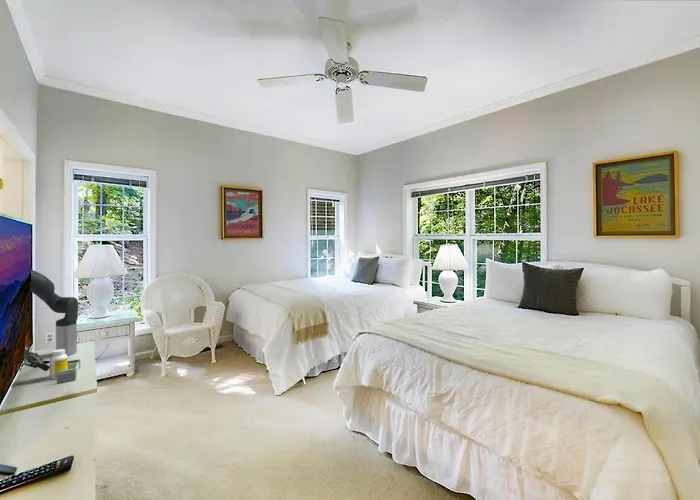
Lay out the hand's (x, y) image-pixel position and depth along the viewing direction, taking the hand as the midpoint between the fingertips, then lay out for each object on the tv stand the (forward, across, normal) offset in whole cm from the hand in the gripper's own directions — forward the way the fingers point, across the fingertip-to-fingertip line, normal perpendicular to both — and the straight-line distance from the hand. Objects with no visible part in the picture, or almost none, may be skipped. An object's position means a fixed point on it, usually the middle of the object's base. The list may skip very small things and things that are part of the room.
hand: (48, 369), depth 159 cm
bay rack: (+9, 0, -2) cm, 9 cm away
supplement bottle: (+6, 0, 0) cm, 6 cm away
